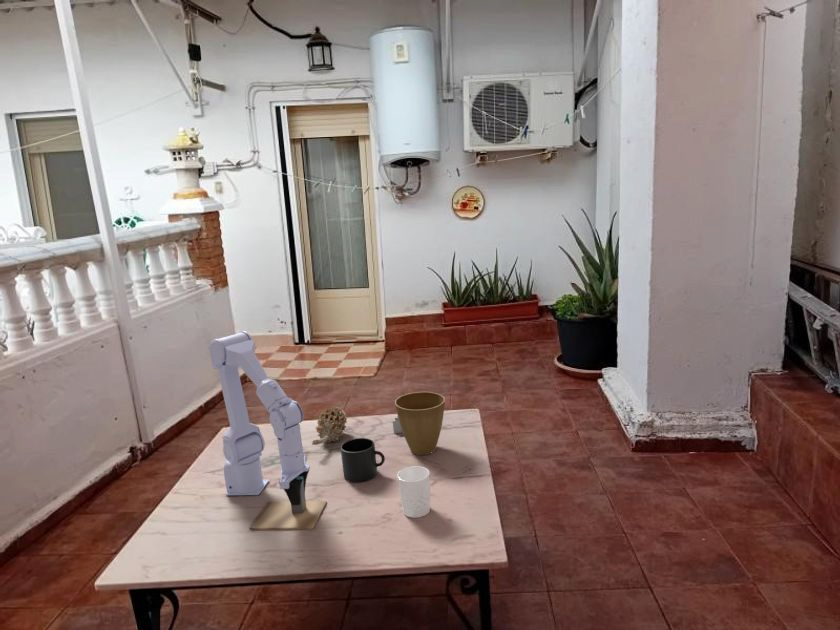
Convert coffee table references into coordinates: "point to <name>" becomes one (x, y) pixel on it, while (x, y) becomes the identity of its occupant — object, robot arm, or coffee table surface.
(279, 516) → the tan rectangular board
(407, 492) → the white cup
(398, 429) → the lighter
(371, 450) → the mug
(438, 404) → the plant pot
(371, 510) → the coffee table surface
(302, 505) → the teal block
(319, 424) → the pine cone
